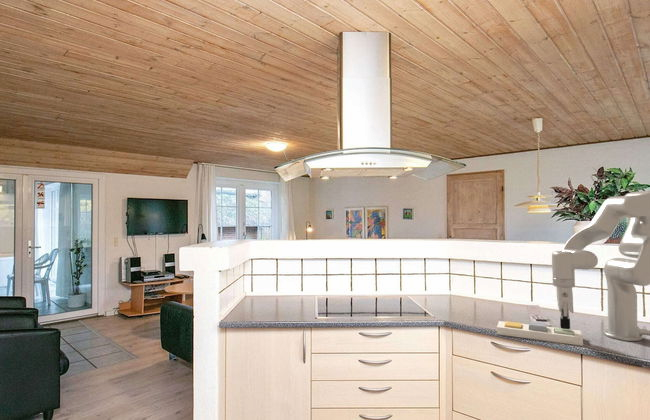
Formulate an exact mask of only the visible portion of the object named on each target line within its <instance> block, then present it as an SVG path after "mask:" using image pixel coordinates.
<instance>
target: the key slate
mask: <svg viewBox="0 0 650 420" xmlns="http://www.w3.org/2000/svg"><path fill="white" fill-rule="evenodd" d="M529 329H530V330H534V331H542V332H547V330H546V323H542V322H533V321H529Z"/></svg>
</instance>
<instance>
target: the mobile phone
mask: <svg viewBox="0 0 650 420" xmlns="http://www.w3.org/2000/svg"><path fill="white" fill-rule="evenodd" d="M525 307H526V309H527V312H528V315H529V320H530V321H533V322H542V323H546V327H552V323H550V321H549V320H548V319H547V318H545V317H544V316H543V314H542V311H541V307H540V305H539V304H538V305H537V304H525ZM530 321H529V322H530Z"/></svg>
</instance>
